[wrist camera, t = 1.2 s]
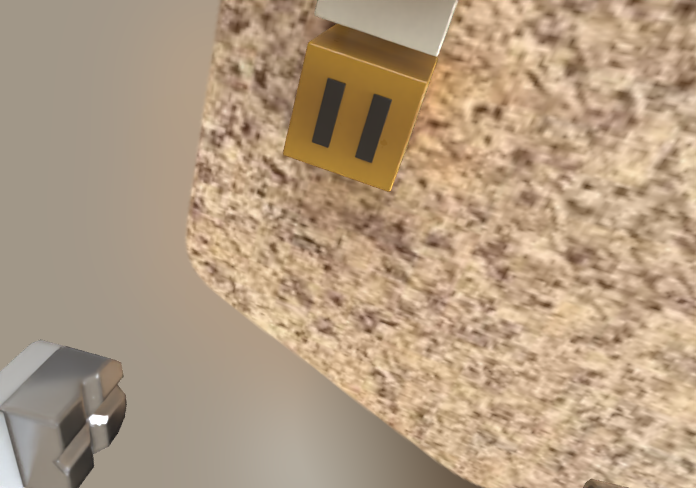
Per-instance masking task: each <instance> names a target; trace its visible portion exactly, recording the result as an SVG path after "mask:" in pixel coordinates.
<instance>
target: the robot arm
mask: <svg viewBox="0 0 696 488" xmlns="http://www.w3.org/2000/svg"><path fill="white" fill-rule="evenodd" d="M122 378H123V370H122V365H121V362H119V361H117V360H113V359H110V358H107V357H103V356H100V355H96V354H92V353H89V352H85V351H82V350H78V349H75V348H71V347H67V346H62V345H59V344H55V343H52V342H48V341H44V340H39V341H36V342H33V343H31V344H30V345H29V346H27V348H25V349H24V350H23V351H22V352H21V353H20V354H19V355H18V356H16V357H15V358H14V359H13V360H12V361H11V362H10V363H9V364H8V365H7V366H6V367H5V368H3V369H2V370H1V371H0V488H23V487H25V488H79V487H80V485H81V484H82V483H83V481H84V480H85V478H86V477H87V476H88V474H89V473H90V472H91V470H92V469H93V468H94V457H93V454H95V453H97V452H99V451H101V450H102V449H105V448H106V447H108V446H109V445H110V444H111V442H112V441H113V440H114V438H115V437H116V435H117V434H118V432H119V430H120V427H121V425H122V422H123V420H124V418H125V411H126V405H127V404H126V395H125V393H124V392H123V391H122V390H121V388H120V387H119V386H118V383H119V382H120V380H121V379H122ZM583 488H628V487H624V486H620V485H616V484H612V483H607V482H603V481H599V480H595V479H590V480H589V481H587V482H586V483H585V485H584V487H583Z"/></svg>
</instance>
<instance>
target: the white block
mask: <svg viewBox="0 0 696 488" xmlns="http://www.w3.org/2000/svg"><path fill="white" fill-rule="evenodd" d="M457 3H458V0H317V4H316V8H315V13H314V14H315V16H316V17H319V18H322V19H325V20H328V21H331V22H334V23H337V24H340V25H343V26H346V27H349V28H352V29H355V30H358V31H361V32H364V33H367V34H370V35H373V36H376V37H379V38H382V39H385V40H388V41H391V42H393V43H396V44H399V45H402V46H405V47H408V48H411V49H414V50H417V51H420V52H423V53H426V54H429V55H432V56H438V54H439V52H440V49H441V47H442V44H443V42H444V39H445V37H446V34H447V31H448V29H449V26H450V23H451V20H452V17H453V14H454V11H455V9H456V6H457Z"/></svg>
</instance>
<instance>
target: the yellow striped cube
mask: <svg viewBox="0 0 696 488" xmlns="http://www.w3.org/2000/svg"><path fill="white" fill-rule="evenodd" d="M437 60H438V58H437V57H435V56H432V55H429V54H426V53H423V52H420V51H417V50H414V49H411V48H408V47H405V46H402V45H399V44H396V43H393V42H391V41H388V40H385V39H382V38H379V37H376V36H373V35H370V34H367V33H364V32H361V31H358V30H355V29H352V28H349V27H346V26H343V25H340V24H336V25H334V26H332V27H331V28H329V29H328V30H326V31H325V32H323V33H322V34H320V35H319V36H317V37H316V38H314V39H313V40H311V41H310V42H309V43H308V45H307V49H306V54H305V58H304V62H303V67H302V71H301V76H300V80H299V84H298V89H297V93H296V97H295V102H294V106H293V111H292V115H291V119H290V124H289V128H288V133H287V137H286V141H285V146H284V150H283V155H285V156H288V157H291V158H293V159H296V160H299V161H302V162H305V163H308V164H311V165H313V166H316V167H319V168H322V169H325V170H328V171H331V172H333V173H336V174H339V175H342V176H345V177H348V178H351V179H353V180H356V181H359V182H362V183H365V184H368V185H370V186H373V187H376V188H379V189H382V190H385V191H388V192H390V191H391V189H392V186H393V183H394V181H395V178H396V175H397V173H398V170H399V167H400V165H401V162H402V160H403V157H404V154H405V151H406V149H407V146H408V143H409V140H410V137H411V134H412V132H413V129H414V126H415V123H416V120H417V117H418V114H419V112H420V109H421V106H422V103H423V100H424V97H425V95H426V92H427V89H428V86H429V83H430V80H431V77H432V75H433V72H434V69H435V66H436V63H437Z"/></svg>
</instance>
